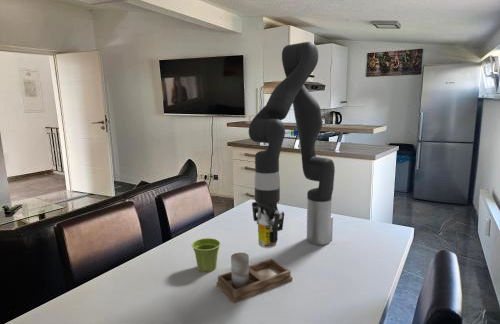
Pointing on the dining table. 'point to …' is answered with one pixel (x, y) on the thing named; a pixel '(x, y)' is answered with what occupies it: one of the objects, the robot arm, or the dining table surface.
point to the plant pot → (206, 253)
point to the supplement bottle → (264, 233)
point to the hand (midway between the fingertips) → (267, 238)
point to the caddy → (251, 277)
